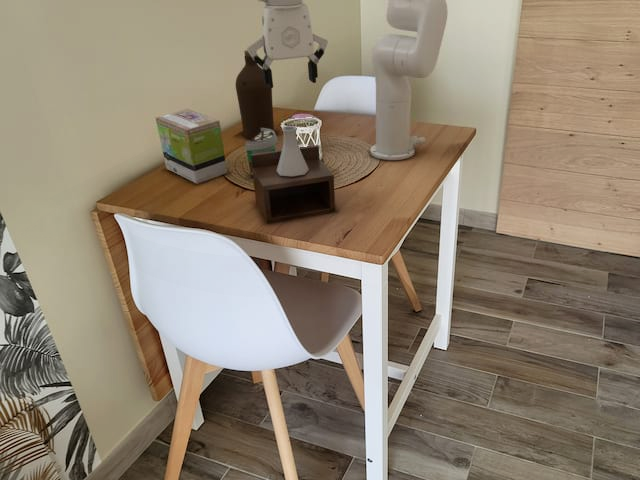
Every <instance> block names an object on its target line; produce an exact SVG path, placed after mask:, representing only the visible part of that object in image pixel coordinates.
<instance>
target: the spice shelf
mask: <svg viewBox="0 0 640 480" xmlns="http://www.w3.org/2000/svg"><path fill="white" fill-rule="evenodd" d="M300 151H301V153H302V155H303V158H304V160H305V162H306V164H307V166H308V169H309V170H308V171H307V172H306V173H305V174H304V175H298V176H280V175H279V173H278V172H277V167H278V164H279V160H280V156H281V152H282V149H278V150H276V151H271V152H264V153H256V154H250V157H251V165H252V173H253V178H252V181H253V188H254V196H255V203H256V205H257V207H258V209H259V211H260V212H261V215H262V217H263V218H264V220H265V223H266V224H272V223H277V222H284V221H288V220H296V219H301V218H307V217H313V216H317V215H324V214H329V213H335V212H336V194H335V175H334V173H333V172H332V171H331V170H330V169H329V168H328V167H327V165H326V164H325V163H324V162H323V161H322V160H321V159H320V147H319V145H318V144H316V145H315V144H314V145H313V146H307V147H300Z"/></svg>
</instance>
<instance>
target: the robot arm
mask: <svg viewBox="0 0 640 480" xmlns="http://www.w3.org/2000/svg"><path fill="white" fill-rule="evenodd" d="M257 1H258V2H262V3H264V4H265V5H264V6H262V15H261V16H262V17H261V23H262V24H261V31H262V32H261V33H262V37H260V38H259V39H257V40H256V41H255V42H253V43H251V44H250V45H249V46H247V48H246V50H247V51H248V52H249V54H250V55H251V57H252V58H253V60H254V61H255V62H256V63H257V64H258V65H259V66H260V67H261V68H262V69H263V77H264V83H265V84H267V86H268V87H269V88H270V89H271V88H272V89H273V88H274V81H273V72H272V68H270V66H271V65H272V63H273V62H274V61H279V60H280V61H281V60H290V59H300V58H306V57H307V58H308V60H309V61H308V62H307V70H308V80H309V81H310V82H311V83H313V84H316V83H317V79H318V78H319V77H318V76H319V75H318V73H319V72H318V63H319V61H320V59H321V58H322V57H323V55H324V54H325V51H326V48H327V46H328V44H329V41H328V40H327V39H325V38H323V37H321V36H319V35H316V34H314V33H313V28H312V22H311V16H310V13H309V8H308V5H307V4H306V3H304V2H303V1H304V0H257ZM447 21H448V4H447V0H388V3H387V8H386V23H388V25H389V26H390V27H391V28H394V29H396V30H401V31H405V32H406V31H407V32H415V33H416V36H410V35H404V34H396V33H395V34H394V33H388V34H387V33H386V34H383V35H381V36H380V37H379V36H378V38H377V39H376V40H374V42H373V45H372V47H371V61H372V67H373V71H374V72H373V73H374V81H375V144H374V145H371V147H370V150H369V151H370V152H369V153H370V155H371V156H372V157H374V158H376V159H379V160H383V161H402V160H406V159H409V158H412V157H413V156H414V155H415V153H416V151H415V150H416V149H415V147H416V145H425V144H426V141H427V140H426V137H425V136H422V137H418V136H417V135H413V136H411V109H412V108H411V105H412V87H411V84H410V81H409V78H408V77H410V78H416V79H425V78H428V77H429V76H430V75H432V73H433V71H434V70H435V68H436V65H437V62H438V58H439V56H440V55H439V54H440V50H441V46H442V42H443V38H444V34H445V30H446V25H447ZM314 42H315V43H317V44H318V47H317V48H316V50H315V43H314ZM262 47H263V53H264V56H263V58H261V57H260V56H259V55H258V53H257V51H258V50H259V49H261V48H262Z"/></svg>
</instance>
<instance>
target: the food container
mask: <svg viewBox="0 0 640 480" xmlns="http://www.w3.org/2000/svg"><path fill="white" fill-rule="evenodd" d="M278 142H279V140H278V137H277V134H276V132H275V130H274V131H273V130H271V129H267V128H261V132H260V133H259V134H258V135H256V136H254V137H253V139H250V141H245V144H244V146H245V147H244V148H245V151H246V156H247V160H248V167H249V172H250V177H251V178H252V179H253V173H252V165H251V157H250V154H256V153H264V152H271V151H277V148H276V145H277V143H278Z"/></svg>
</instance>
